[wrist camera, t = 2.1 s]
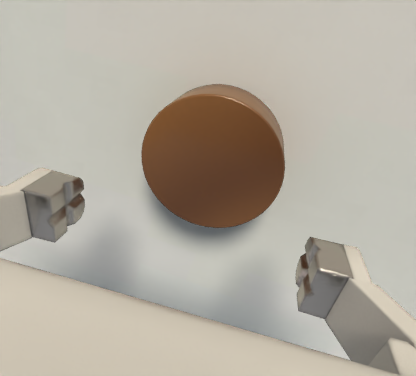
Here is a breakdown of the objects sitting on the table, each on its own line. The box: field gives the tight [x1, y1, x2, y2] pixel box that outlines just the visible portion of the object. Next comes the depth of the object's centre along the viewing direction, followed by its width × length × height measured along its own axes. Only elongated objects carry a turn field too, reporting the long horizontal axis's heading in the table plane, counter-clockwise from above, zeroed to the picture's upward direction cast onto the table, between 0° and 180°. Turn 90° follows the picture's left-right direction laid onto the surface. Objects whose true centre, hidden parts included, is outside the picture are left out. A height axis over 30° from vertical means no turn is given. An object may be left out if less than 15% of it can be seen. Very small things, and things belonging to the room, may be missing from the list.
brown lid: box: [142, 84, 285, 228], centre depth 14 cm, size 7×7×2 cm
